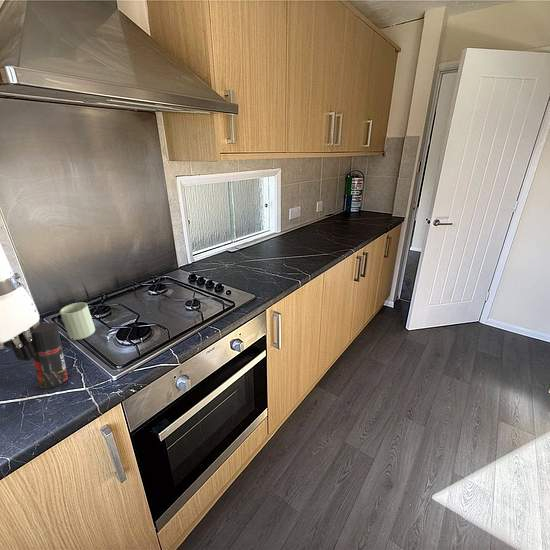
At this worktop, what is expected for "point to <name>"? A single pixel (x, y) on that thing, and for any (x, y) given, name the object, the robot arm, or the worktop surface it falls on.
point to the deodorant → (48, 355)
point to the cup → (77, 320)
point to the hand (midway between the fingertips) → (27, 357)
